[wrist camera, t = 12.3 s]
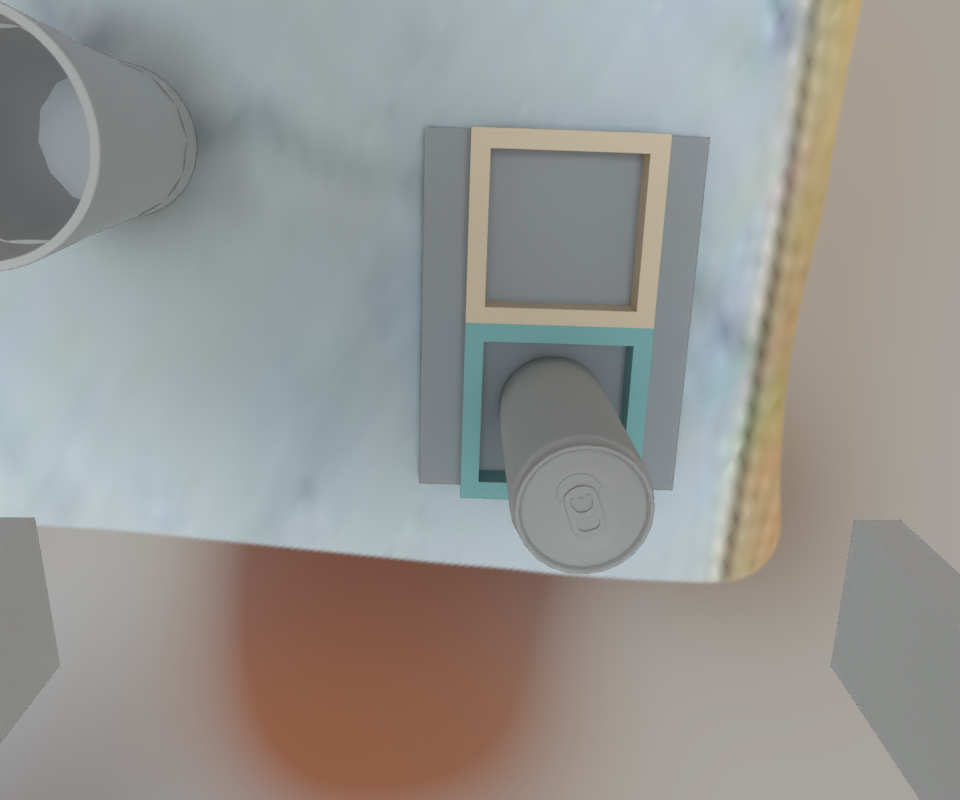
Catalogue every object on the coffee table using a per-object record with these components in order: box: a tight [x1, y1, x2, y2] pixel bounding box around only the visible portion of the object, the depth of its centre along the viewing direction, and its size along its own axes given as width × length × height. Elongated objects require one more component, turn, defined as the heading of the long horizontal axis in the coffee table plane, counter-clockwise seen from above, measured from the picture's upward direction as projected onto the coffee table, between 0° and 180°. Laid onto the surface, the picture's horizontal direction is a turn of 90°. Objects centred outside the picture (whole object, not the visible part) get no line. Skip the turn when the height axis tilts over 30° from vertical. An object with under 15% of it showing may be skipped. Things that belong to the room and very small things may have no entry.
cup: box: [0, 2, 197, 271], centre depth 31 cm, size 8×8×12 cm
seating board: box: [419, 126, 710, 499], centre depth 38 cm, size 16×12×2 cm
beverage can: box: [499, 357, 655, 574], centre depth 33 cm, size 5×5×12 cm
